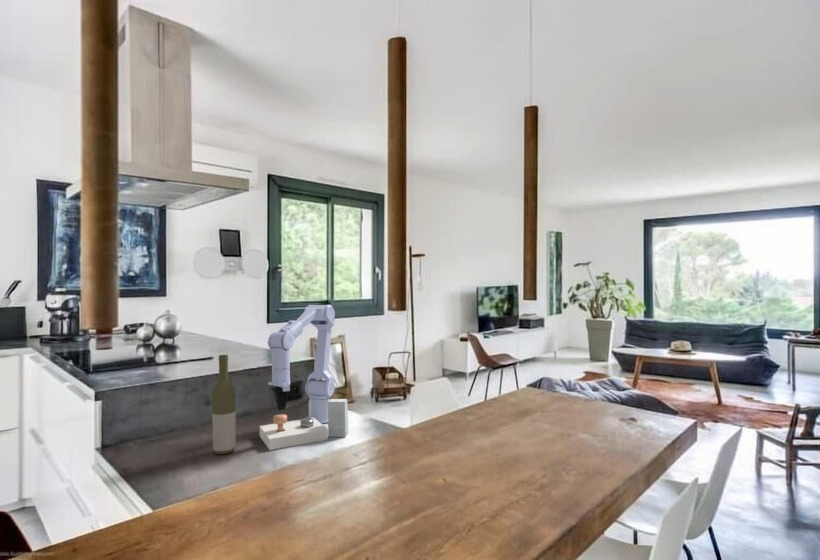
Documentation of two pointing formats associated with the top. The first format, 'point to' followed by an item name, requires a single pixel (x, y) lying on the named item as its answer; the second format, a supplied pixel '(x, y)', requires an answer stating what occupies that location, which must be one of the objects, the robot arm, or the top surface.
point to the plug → (306, 422)
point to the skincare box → (337, 418)
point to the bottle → (223, 411)
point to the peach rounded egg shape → (280, 421)
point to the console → (292, 434)
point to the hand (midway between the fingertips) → (281, 409)
